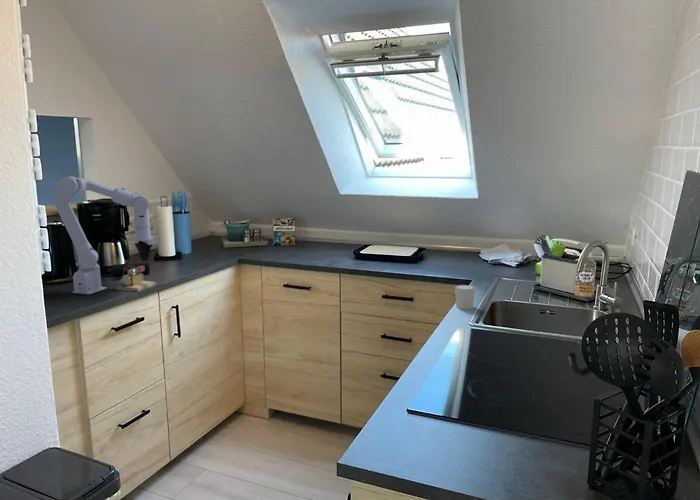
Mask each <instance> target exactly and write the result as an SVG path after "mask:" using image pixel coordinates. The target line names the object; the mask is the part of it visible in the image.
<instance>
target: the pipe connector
mask: <svg viewBox="0 0 700 500" xmlns="http://www.w3.org/2000/svg"><path fill="white" fill-rule="evenodd" d="M138 266H144V267H145V271H143V272H139V273H142V274H143V275H150V273H151V265H150V262H142V263H141V262H140V263H139V262H138V263H122V264H112V265H111V275H112V277H119V276H124V275H128V270H129V269H134V268H136V267H138Z"/></svg>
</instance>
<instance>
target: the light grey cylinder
mask: <svg viewBox="0 0 700 500" xmlns="http://www.w3.org/2000/svg"><path fill="white" fill-rule="evenodd" d="M454 291H455V293H454V294H455V307H456V308H458V309H461V310H468V309H469V310H471V309H473V308H474V302H475V293H476V287H475V286H473V285H470V284H469V285H468V284H459V285H455V287H454Z"/></svg>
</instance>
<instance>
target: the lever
mask: <svg viewBox="0 0 700 500" xmlns="http://www.w3.org/2000/svg"><path fill="white" fill-rule="evenodd" d="M143 271H145V267H144V266H138V267H136V268H134V269H129V270H128V275H136V273H139V272H143Z"/></svg>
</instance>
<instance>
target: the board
mask: <svg viewBox="0 0 700 500" xmlns="http://www.w3.org/2000/svg"><path fill="white" fill-rule="evenodd" d="M156 285H158V281H153V280H143V281H142V283H140V284H137V285H134V286H126V287H123V286H121V284H120V285H118V286H117V285H116V286H115V290H117V291H127V292H128V291H130V292H140V291H142V290H145V289H148V288H151V287H154V286H156Z"/></svg>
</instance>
